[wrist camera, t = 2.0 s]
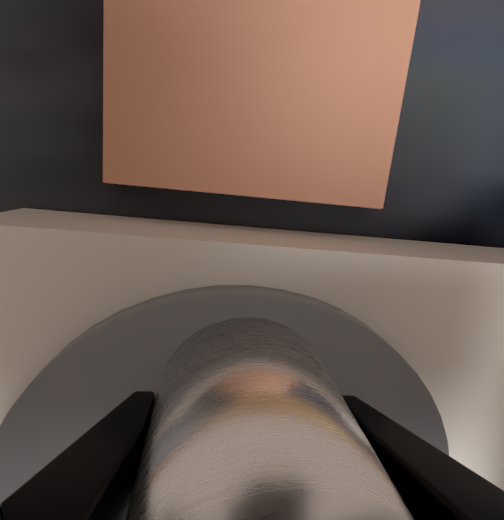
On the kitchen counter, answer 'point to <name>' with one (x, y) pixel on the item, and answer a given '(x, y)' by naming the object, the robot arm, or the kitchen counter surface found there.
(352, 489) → the cylinder
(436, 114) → the kitchen counter surface
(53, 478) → the robot arm
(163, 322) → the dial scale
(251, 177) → the rubber mat
